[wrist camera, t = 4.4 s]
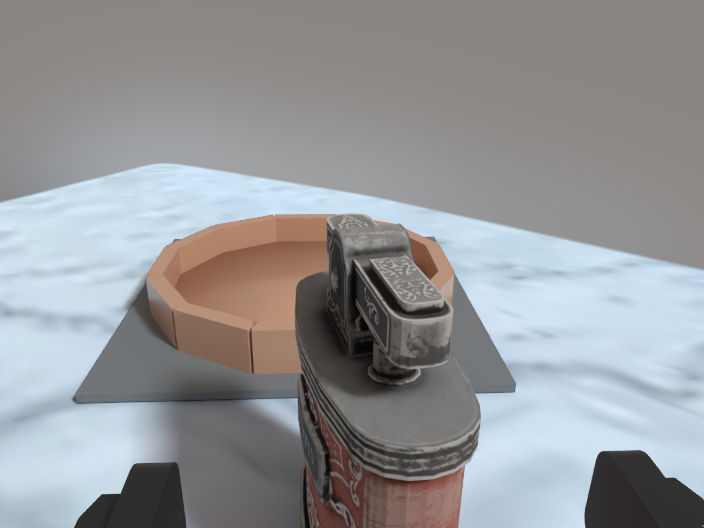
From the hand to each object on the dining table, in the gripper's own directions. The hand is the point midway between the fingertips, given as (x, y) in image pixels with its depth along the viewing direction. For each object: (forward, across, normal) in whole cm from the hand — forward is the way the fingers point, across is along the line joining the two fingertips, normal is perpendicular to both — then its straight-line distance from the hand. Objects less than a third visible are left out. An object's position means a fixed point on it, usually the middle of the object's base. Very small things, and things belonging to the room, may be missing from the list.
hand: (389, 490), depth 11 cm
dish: (+20, +2, +6) cm, 22 cm away
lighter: (+4, 0, +6) cm, 7 cm away
